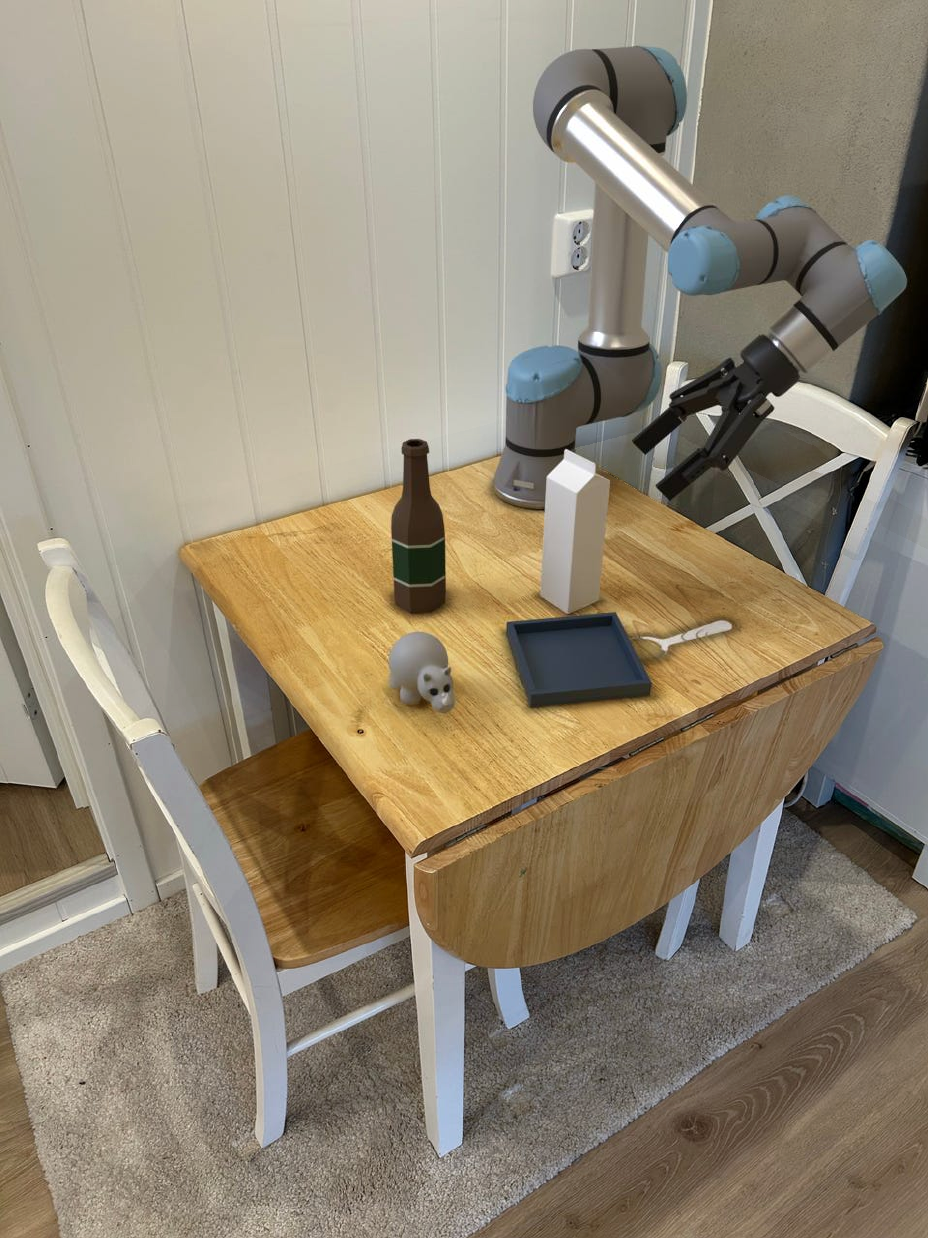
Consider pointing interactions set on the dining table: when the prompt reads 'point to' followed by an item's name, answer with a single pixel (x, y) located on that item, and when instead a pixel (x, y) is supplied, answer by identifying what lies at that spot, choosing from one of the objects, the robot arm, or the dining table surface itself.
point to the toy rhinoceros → (421, 671)
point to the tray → (576, 660)
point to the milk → (573, 533)
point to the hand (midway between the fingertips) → (649, 469)
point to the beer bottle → (418, 537)
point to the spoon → (693, 634)
